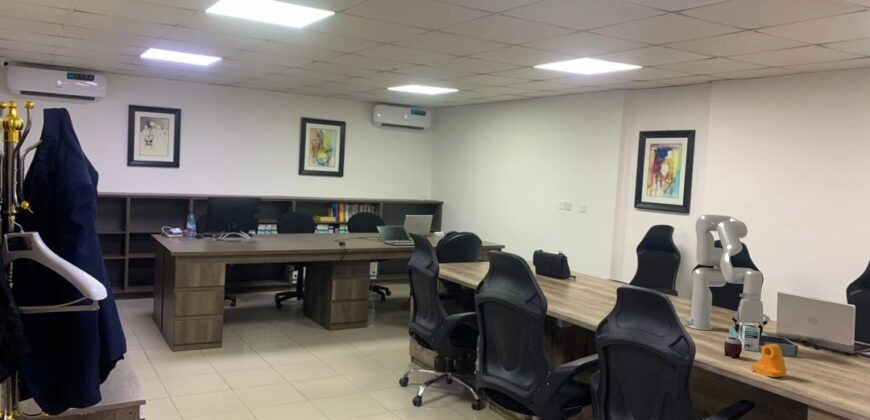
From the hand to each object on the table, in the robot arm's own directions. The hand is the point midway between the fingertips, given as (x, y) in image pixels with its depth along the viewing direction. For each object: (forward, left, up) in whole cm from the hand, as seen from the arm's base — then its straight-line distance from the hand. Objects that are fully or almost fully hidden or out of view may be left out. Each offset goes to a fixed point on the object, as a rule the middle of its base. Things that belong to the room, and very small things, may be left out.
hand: (748, 333), depth 292 cm
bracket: (-5, -43, -7) cm, 44 cm away
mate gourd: (-12, -20, -7) cm, 24 cm away
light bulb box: (0, 0, -7) cm, 7 cm away
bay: (+11, 0, -7) cm, 13 cm away
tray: (+6, +20, -7) cm, 22 cm away
